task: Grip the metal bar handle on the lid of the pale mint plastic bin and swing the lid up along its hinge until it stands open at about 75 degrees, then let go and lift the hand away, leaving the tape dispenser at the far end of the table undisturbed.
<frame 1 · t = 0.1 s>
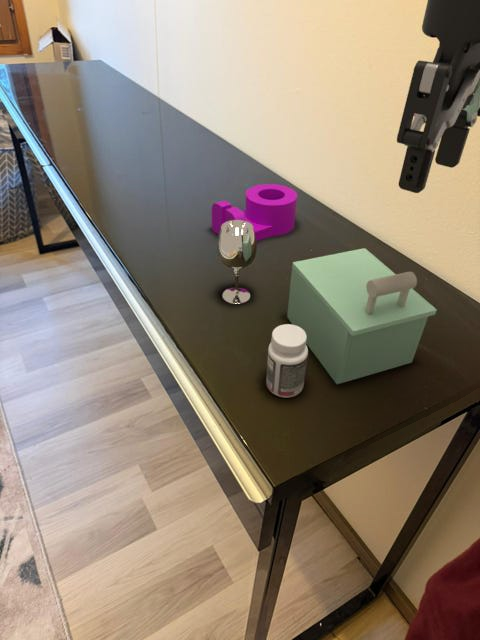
hand: (429, 176, 44), 26 cm above the table, tool pointing down, fingers open, 8 cm apart
pill bottle: (284, 385, 58), on the table
bin: (345, 338, 65), on the table
wineglass: (236, 296, 72), on the table
tape dispenser: (257, 228, 90), on the table
bin lid: (362, 272, 57), point 12 cm above the table, hinge at 0.0°
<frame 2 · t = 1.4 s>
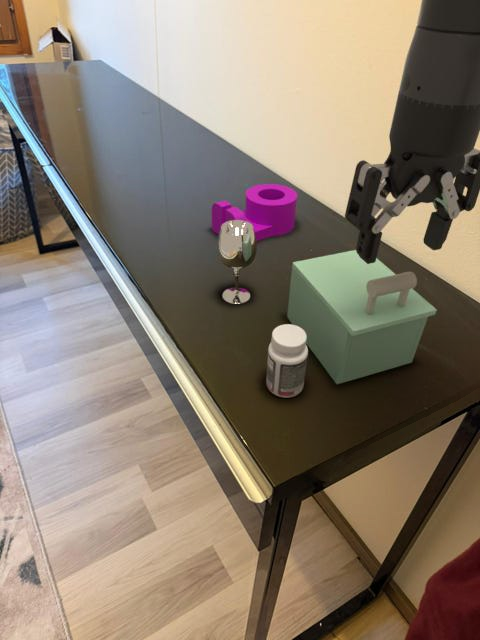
hand: (399, 253, 49), 17 cm above the table, tool pointing down, fingers open, 8 cm apart
nothing on the table moved.
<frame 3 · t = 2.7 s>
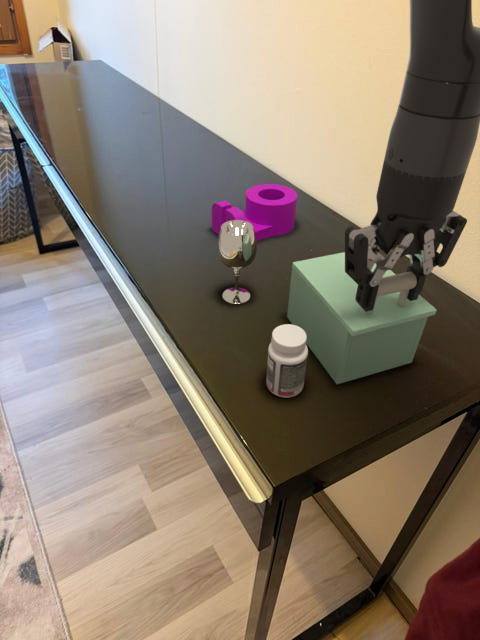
hand: (387, 301, 54), 11 cm above the table, tool pointing down, fingers closed on bin lid, 5 cm apart
bin lid: (362, 272, 57), point 11 cm above the table, hinge at 0.0°, touching gripper
everything else where it was.
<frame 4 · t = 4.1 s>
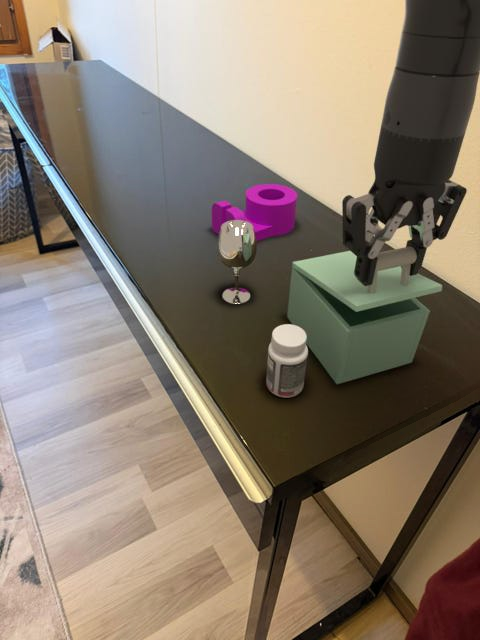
hand: (386, 276, 53), 14 cm above the table, tool pointing down, fingers closed on bin lid, 5 cm apart
bin lid: (362, 258, 57), point 13 cm above the table, hinge at 12.2°, touching gripper
everything else where it was.
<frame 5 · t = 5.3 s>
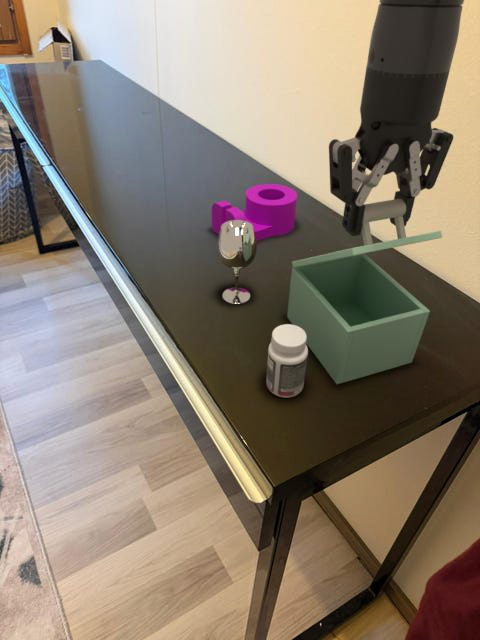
hand: (375, 228, 53), 18 cm above the table, tool pointing down, fingers closed on bin lid, 5 cm apart
bin lid: (356, 232, 56), point 16 cm above the table, hinge at 35.6°, touching gripper
everything else where it was.
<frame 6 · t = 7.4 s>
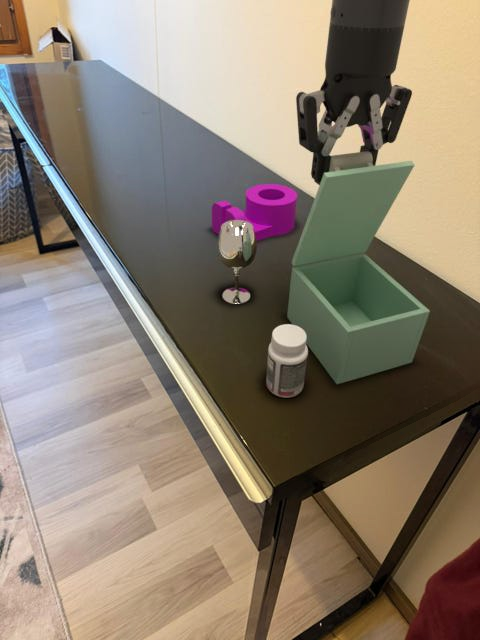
hand: (342, 180, 57), 20 cm above the table, tool pointing down, fingers closed on bin lid, 5 cm apart
bin lid: (340, 205, 59), point 17 cm above the table, hinge at 69.9°, touching gripper
everything else where it was.
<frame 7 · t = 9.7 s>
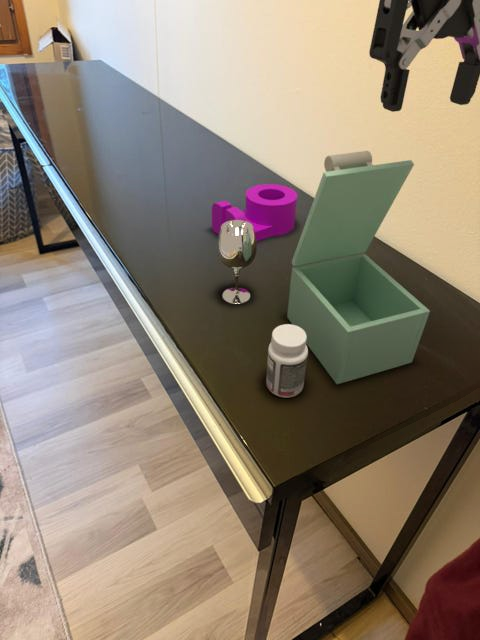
hand: (426, 106, 47), 30 cm above the table, tool pointing down, fingers open, 8 cm apart
bin lid: (339, 205, 59), point 17 cm above the table, hinge at 70.4°
everything else where it was.
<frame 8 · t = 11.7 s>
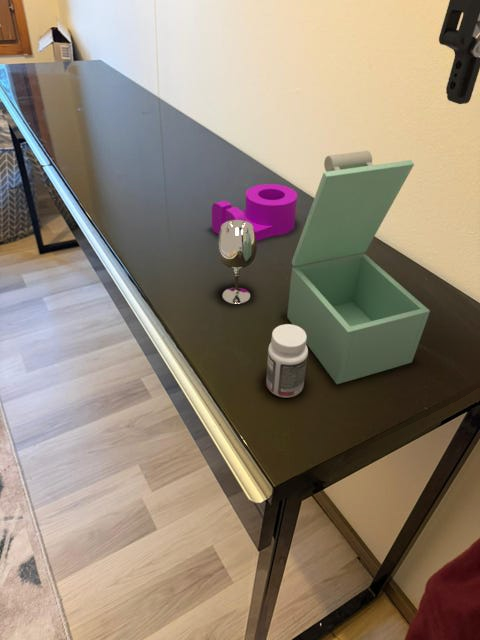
nothing on the table moved.
at the end: bin lid at +70° (first picture: +0°); the gripper is holding nothing; tape dispenser moved 0.2 cm from its start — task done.
